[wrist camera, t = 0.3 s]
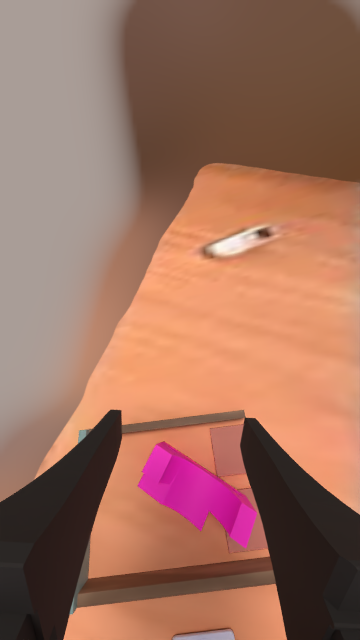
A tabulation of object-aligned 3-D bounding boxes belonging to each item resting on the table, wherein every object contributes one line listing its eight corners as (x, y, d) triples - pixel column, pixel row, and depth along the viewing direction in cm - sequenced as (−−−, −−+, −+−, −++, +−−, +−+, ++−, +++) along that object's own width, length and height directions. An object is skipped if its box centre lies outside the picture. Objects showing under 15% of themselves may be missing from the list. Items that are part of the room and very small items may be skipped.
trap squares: (270, 546, 31) (270, 548, 30) (228, 552, 31) (229, 553, 31) (243, 424, 38) (243, 424, 38) (209, 428, 38) (209, 428, 38)
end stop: (87, 591, 30) (72, 614, 26) (78, 592, 30) (63, 615, 26) (96, 429, 39) (86, 429, 35) (89, 429, 39) (79, 430, 35)
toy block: (144, 479, 35) (131, 491, 29) (164, 441, 37) (156, 444, 31) (229, 542, 31) (237, 574, 24) (245, 495, 33) (257, 513, 26)
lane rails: (274, 568, 30) (282, 582, 27) (87, 591, 30) (76, 607, 27) (240, 411, 39) (243, 410, 36) (96, 429, 39) (89, 429, 36)
